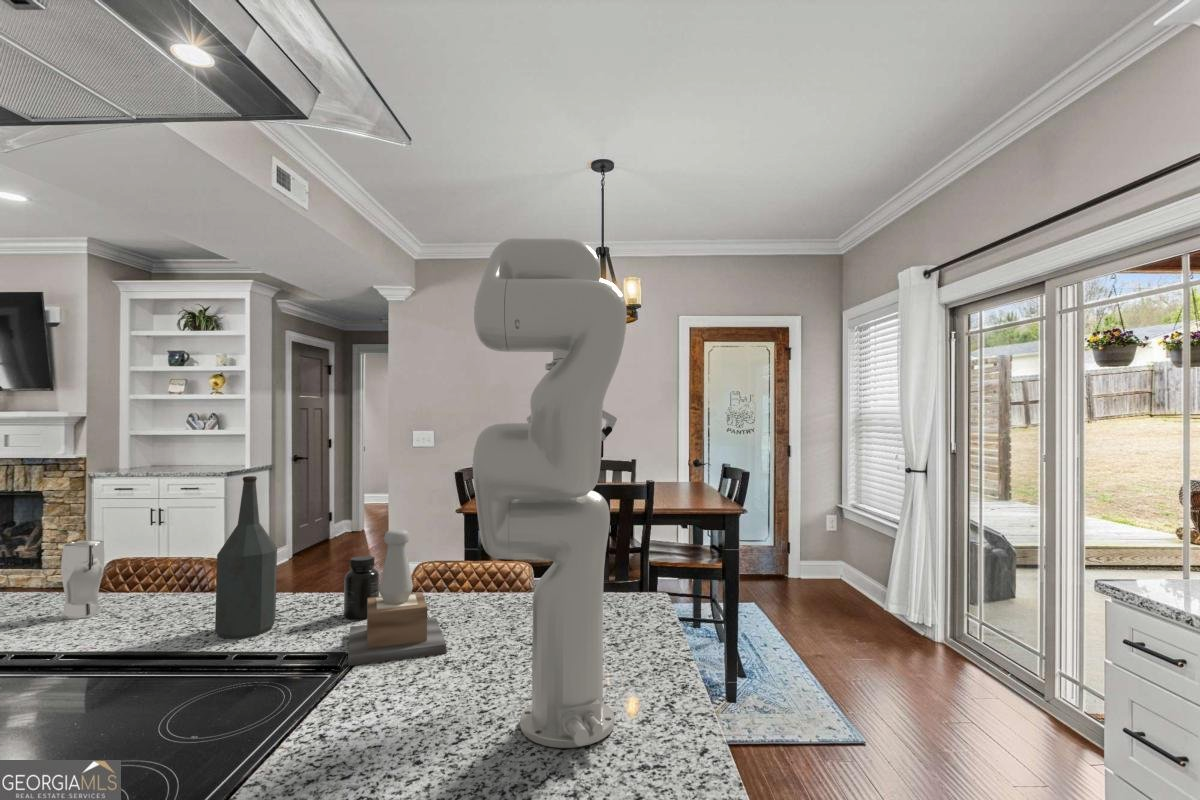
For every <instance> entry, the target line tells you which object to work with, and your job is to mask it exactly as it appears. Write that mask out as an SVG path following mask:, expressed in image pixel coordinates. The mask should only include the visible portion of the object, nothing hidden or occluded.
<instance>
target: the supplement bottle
mask: <svg viewBox="0 0 1200 800" xmlns="http://www.w3.org/2000/svg"><path fill="white" fill-rule="evenodd" d="M375 566H376V564H375V556H372V555H358V556H355V557H350V559H349V569H350V570H349V571H347V573H346V574H345V575H344V587H343V588H344V589H343V591H344V592H343V595H344V596H343V616H344V618H345V619H346V620H349V621H362V620H367V601H368V598H370V597H380V591H379V589H380V573H379V570H377V569H376V568H374V567H375Z"/></svg>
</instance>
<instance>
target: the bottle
mask: <svg viewBox="0 0 1200 800" xmlns="http://www.w3.org/2000/svg"><path fill="white" fill-rule="evenodd" d="M257 480H258V478H257V476H253V475H249V476H243V478H242V481H243V484H242V493H241V498H240V506H239V513H238V514H239V515H238V520H237V525H236V526H235V528H234V529H233V531H232V532H231V534H230V536H229V537H228V538H227V539H226V541H225V543H224V544H223V545H222V547H221V548H220V550H219V552H218V553H217V555H216V582H215V583H216V586H215V588H216V589H215V590H216V591H215V617H214V619H215V620H214V621H215V623H214V626H215V627H214V632H215V634H216V635H217V636H218V637H220V638H223V639H233V640H234V639H235V640H237V639H244V638H250V637H254V636H259V635H262V634H264V633H267V632H269V631H271V630H272V628H274V627H273V626H274V625H275V622H276V614H277V613H276V611H277V610H276V608H277V607H276V606H277V567H278V566H277V565H278V562H277V561H278V547H277V546H276V544H275V543H274V541H273V540H272V538H271V537H270V536H269V534H268V532H267V531H266V529H264V527H263V525H262V524H261V523H260V515H259V503H258V492H257Z"/></svg>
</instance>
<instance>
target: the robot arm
mask: <svg viewBox="0 0 1200 800" xmlns="http://www.w3.org/2000/svg"><path fill="white" fill-rule="evenodd" d="M600 262H601V261H600V260H599V258H598V255H597V253H596V252H595V250H594V249H593V248H591V247H590V246H589V245H587V244H586V243H585V242H583V241H580V240H574V239H571V238H570V239H568V238H509V239H505V240H504V241H502V242H500V243H498V244H497V246H496V247H494V249H493V250H492V252H491V254H490V256H489V258H488V260H487V262H486V266H485V268H484V270H483V273H482V278H481V281H480V283H479V286H478V290H477V292H476V296H475V300H474V307H473V308H474V309H473V323H474V329H475V332H476V336H477V338H478V340H479V341H480V342H481V343H482V345H484V347H486V348H487V349H490V350H492V351H496V352H505V353H506V352H508V353H511V352H513V353H515V352H517V353H518V352H523V353H525V352H526V353H527V352H528V353H530V352H531V353H533V352H534V353H535V352H536V353H549V352H551V353H552V360H551V362H549V363H545V367H544V368H545V371H547V373H545V375H543V377H542V378H541V380H540V381H539V382H538V384H536V386H535V388H534V389H533V391H532V393H531V396H530V403H529V404H530V415H528V416H526V422H527V423H526V422H524V423H523V422H520V423H518V422H517V423H516V422H514V423H513V422H511V423H510V422H508V423H497V424H492V425H490V426H488V427H486V428H484V429H483V430H482V431H481V432H480V433H479V435H478V437H477V438H476V441H475V445H474V448H473V454H472V477H473V478H472V479H473V489H474V495H475V496H474V497H475V503H476V505H475V506H476V512H477V521H478V529H479V535H480V541H481V544H482V548H483V549H484V551H485V553H486V554H487V555H488V556H490V557H492V558H494V559H498V560H499V559H500V560H542V561H543V560H544V561H552V562H553V563H552V564H551V565H550V567H548V569H547V570H546V571H545V572H544V574H543V575H542V576H541V577H540V579H539V580H538V582H537V583H536V585H535V588H534V591H533V596H532V640H531V641H532V642H531V643H532V652H531V653H532V654H531V655H532V660H531V661H532V662H531V663H532V664H531V666H532V667H531V668H532V669H531V670H532V671H531V672H532V673H531V676H532V677H531V683H532V684H531V685H532V686H531V704H530V705H528V706H527V707H526V708H525V709H524V710H523V711H522V712H521V714H520V719H519V720H520V721H519V722H520V724H519V726H520V730H521V733H522V734H523V735H524V736H525V737H526V738H527V739H529V740H530V741H532V742H534V743H536V744H538V745H541V746H545V747H549V748H550V747H551V748H556V749H557V748H558V749H559V748H560V749H569V748H570V749H573V748H579V747H580V748H582V747H585V746H589V745H592V744H596V743H597V742H600V741H602V740H603V739H605V738H606V737H608V735H610V734H611V733H612V731H613V730H614V727H615V715H614V714H615V713H614V711H613V710H612V708H611V707H609V706H608V704H606V703H604V698H603V697H604V696H603V695H604V582H605V581H604V580H605V579H604V578H605V577H604V576H605V564H606V563H605V561H606V552H607V547H608V539H609V533H610V525H611V523H610V522H611V515H610V514H611V512H610V507H609V504H608V502H607V500H606V498H604V496H603V495H602V494H600V493H599V492H597V491H595V490H594V489H595V487H596V485H597V484H598V481H599V479H600V471H601V463H602V458H603V457H604V441H606V439H607V438H608V436H609V435H611V433H612V431H613V428H614V427H615V425H616V422H617V421H618V420H617V417H616V416H614V415H613V414H610V413H609V412H607V411H606V410H604V409H603V407H604V402H605V401H604V400H605V397H606V394H607V392H608V389H609V386H610V384H611V382H612V379H613V378H614V375H615V372H616V370H617V368H618V365H619V361H620V358H621V355H622V351H623V347H624V343H625V336H626V331H627V330H626V329H627V320H628V319H627V315H628V313H627V311H628V310H627V303H626V299H625V297H624V294H623V293H622V292H621V290H620V289H619V288H618V286H617V285H616V284H614V283H613V282H610V281H609V280H606V279H604V278H602V277H601V276H602V275H601V274H602V270H601V263H600ZM603 420H604V421H606V423H605V426H603Z"/></svg>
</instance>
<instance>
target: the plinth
mask: <svg viewBox="0 0 1200 800" xmlns="http://www.w3.org/2000/svg"><path fill="white" fill-rule="evenodd" d="M348 639H349V640H348V650H347V651H348V654H347V666H348V665H349V666H350V667H351V666H356V665H363V664H364V665H365V664H372V663H380V662H381V663H382V662H388V661H396V660H402V659H410V658H412V659H413V658H417V657H426V656H434V655H441V654H446V653H447V643H446V641H445V640H446V639H445V637H444V635H443V632H442V630H441V627H440V624H439V621H438V619H437V617H428V605H427V601H426V599H425V596H424V593H423V592H416V593H415V592H414V593H411V594H410V596H409V598H408V600H407V601H406V602H405V603H402V604H396V605H391V604H385V602H384V600H383V598H382V596H379V597H370V598H368V601H367V619H366V624H365V625H354V626H349V637H348ZM349 666H348V667H349Z"/></svg>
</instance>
